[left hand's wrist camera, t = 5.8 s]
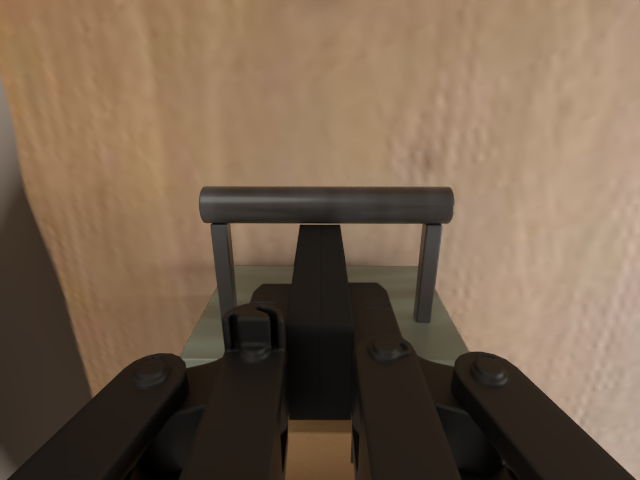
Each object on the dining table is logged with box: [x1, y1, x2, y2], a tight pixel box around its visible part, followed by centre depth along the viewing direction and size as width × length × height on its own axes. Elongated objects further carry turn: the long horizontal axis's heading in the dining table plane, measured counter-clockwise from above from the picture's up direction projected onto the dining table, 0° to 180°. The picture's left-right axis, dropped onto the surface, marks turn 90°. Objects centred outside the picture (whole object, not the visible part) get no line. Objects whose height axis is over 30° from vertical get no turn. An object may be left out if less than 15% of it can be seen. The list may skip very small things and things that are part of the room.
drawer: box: [180, 186, 470, 368], centre depth 19 cm, size 23×10×8 cm, turn 0°
